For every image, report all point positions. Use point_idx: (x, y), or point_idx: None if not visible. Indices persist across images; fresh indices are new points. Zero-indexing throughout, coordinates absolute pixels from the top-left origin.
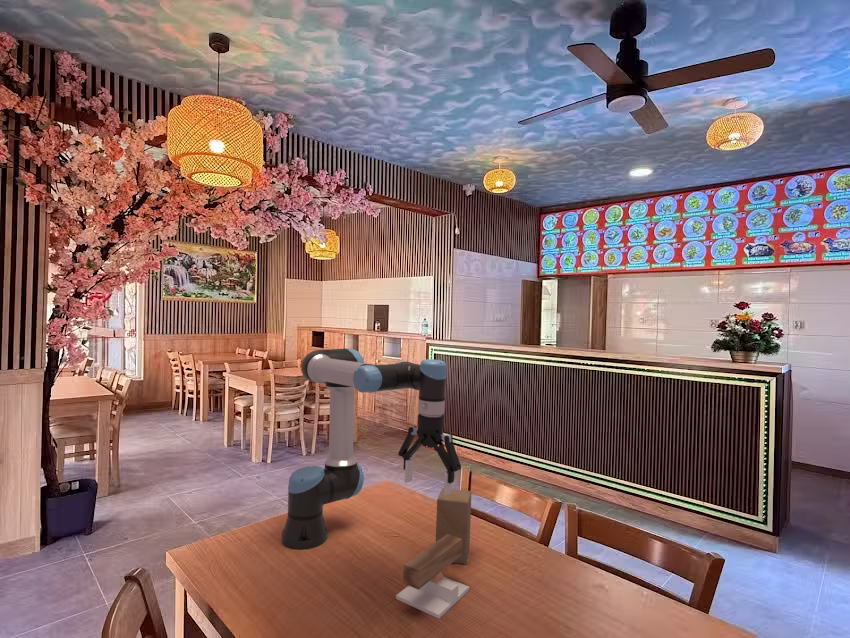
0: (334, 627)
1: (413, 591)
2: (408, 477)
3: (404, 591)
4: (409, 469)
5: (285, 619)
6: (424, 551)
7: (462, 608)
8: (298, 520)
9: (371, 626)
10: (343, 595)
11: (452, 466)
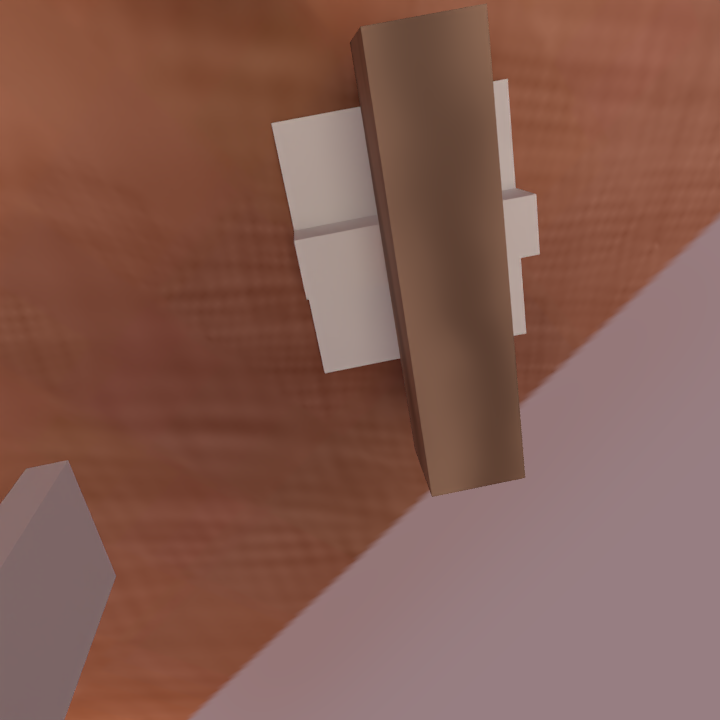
0: (309, 588)
1: (352, 303)
2: (79, 594)
3: (327, 332)
4: (22, 704)
5: (181, 666)
6: (418, 337)
7: (552, 212)
8: None
9: (383, 511)
10: (176, 494)
11: None
